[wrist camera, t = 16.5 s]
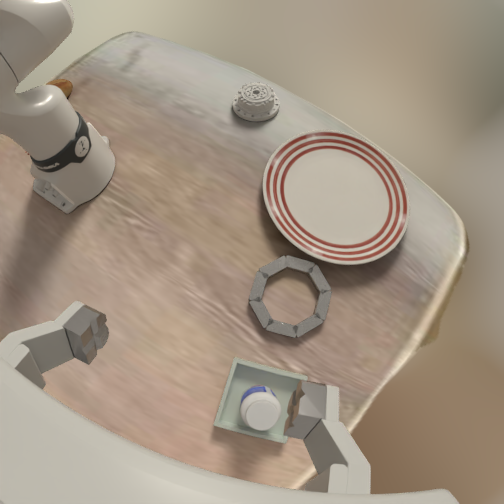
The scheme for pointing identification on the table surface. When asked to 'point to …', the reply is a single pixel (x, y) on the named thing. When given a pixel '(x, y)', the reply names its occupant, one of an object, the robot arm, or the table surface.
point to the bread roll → (62, 86)
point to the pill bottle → (260, 407)
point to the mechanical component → (256, 102)
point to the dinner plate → (336, 197)
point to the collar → (316, 279)
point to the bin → (250, 375)
